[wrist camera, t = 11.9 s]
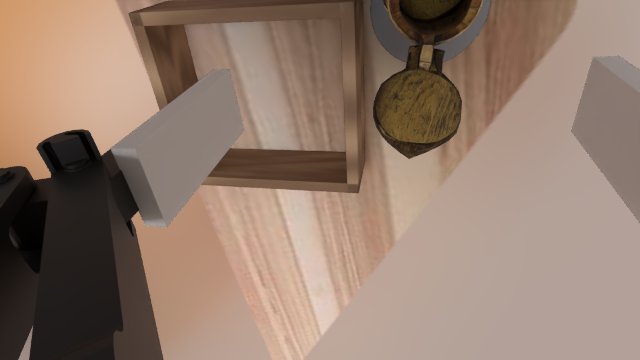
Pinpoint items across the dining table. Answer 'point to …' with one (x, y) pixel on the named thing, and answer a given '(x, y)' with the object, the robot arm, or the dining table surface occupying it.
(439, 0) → the wooden mug
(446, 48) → the coaster
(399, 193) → the dining table surface
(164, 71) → the wooden frame
